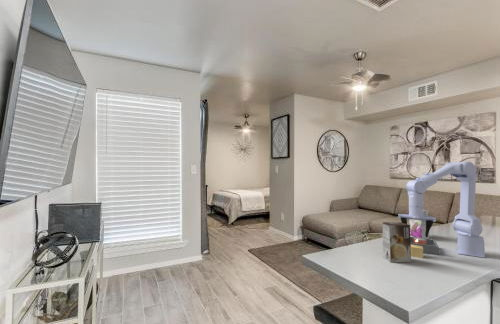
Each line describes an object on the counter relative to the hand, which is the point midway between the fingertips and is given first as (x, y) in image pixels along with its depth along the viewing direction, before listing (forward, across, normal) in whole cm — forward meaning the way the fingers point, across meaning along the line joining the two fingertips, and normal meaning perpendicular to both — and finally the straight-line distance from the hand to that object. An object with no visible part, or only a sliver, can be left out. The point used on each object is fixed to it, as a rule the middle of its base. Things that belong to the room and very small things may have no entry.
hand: (416, 235), depth 115 cm
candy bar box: (+10, +3, +39) cm, 40 cm away
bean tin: (+9, +2, +13) cm, 16 cm away
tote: (+9, +2, +13) cm, 16 cm away
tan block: (+10, 0, 0) cm, 10 cm away
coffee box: (+10, -8, -11) cm, 17 cm away
